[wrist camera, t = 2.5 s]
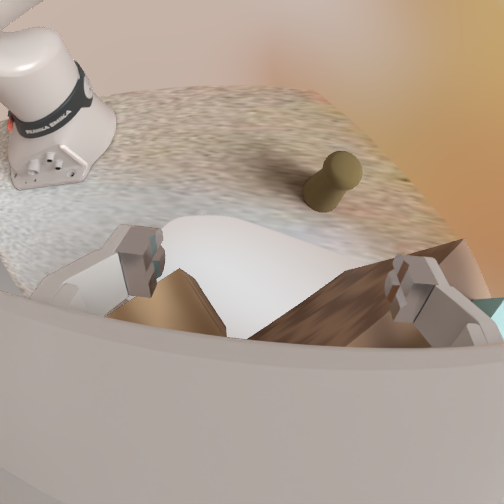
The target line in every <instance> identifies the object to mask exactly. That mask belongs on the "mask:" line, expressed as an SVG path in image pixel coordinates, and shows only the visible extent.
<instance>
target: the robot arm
mask: <svg viewBox="0 0 504 504" xmlns="http://www.w3.org/2000/svg"><path fill="white" fill-rule="evenodd" d="M42 1H43V0H0V102H1V103H2V104H3V105H4V106H6V107H7V108H8V109H9V111H8V116H9V120H8V128H7V130H9V128H10V133H9V138H8V146H7V154H8V160H9V163H10V171H11V178H12V182H13V184H14V186H15V188H16V189H18V190H25V189H32V188H38V187H46V186H53V185H61V184H69V183H78V182H81V181H83V180H84V179H85V177H86V176H87V174H88V172H89V170H90V168H91V166H92V165H93V163H94V162H95V161H96V160H97V159H98V158H99V157H100V156H101V155H102V154H103V153H104V152H105V150H106V149H107V148H108V146H109V145H110V143H111V141H112V139H113V137H114V134H115V130H116V116H115V113H114V111H113V110H112V108H111V107H110V106H109V105H107V104H106V103H104V102H103V101H102V100H101V99H100V98H99V97H98V96H97V95H96V94H95V93H94V92H93V90H92V86H91V84H90V81H89V79H88V78H87V76H86V75H85V73H84V71H83V70H82V68H81V67H80V65H79V64H78V63H77V62H76V61H74V60H73V58H72V56H71V54H70V52H69V51H68V49H67V47H66V45H65V43H64V41H63V39H62V38H61V36H60V34H58V33H57V32H56V31H54V30H52V29H49V28H45V27H32V28H28V29H24V30H21V31H16V32H2V31H1V30H3V29H4V28H5V27H6V26H8V25H9V24H10V23H11V22H13V21H14V20H16V19H17V18H18V17H20V16H21V15H23V14H24V13H25V12H27V11H28V10H30V9H31V8H33V7H34V6H35V5H37V4H39V3H40V2H42ZM72 174H74V176H72ZM162 241H163V235H162V230H161V229H160V228H152V227H144V226H133V225H124V224H122V225H119V226H118V227H117V229H116V230H115V231H114V233H113V234H112V235H111V237H110V238H109V239H108V241H107V242H106V243H105V245H104V246H103V247H102V249H101V250H96V251H94V252H92V253H90V254H88V255H86V256H84V257H82V258H80V259H78V260H76V261H74V262H72V263H70V264H69V265H67V266H65V267H63V268H61V269H59V270H57V271H55V272H54V273H52V274H50V275H48V276H46V277H45V278H43V280H42V281H41V283H40V284H39V285H38V287H37V288H36V289H35V291H34V292H33V294H32V295H31V296H30V298H29V299H28V298H25V297H21V296H18V295H14V294H11V293H8V292H4V291H1V290H0V504H504V339H503V337H502V335H501V333H500V331H499V329H498V327H497V325H496V323H495V322H494V321H493V320H492V319H491V318H490V317H489V316H488V315H486V314H485V313H484V312H483V311H482V310H481V309H479V308H478V307H477V306H476V305H475V304H474V303H472V302H471V301H470V300H469V299H468V298H466V297H465V296H464V295H463V294H461V293H460V292H459V291H458V290H457V289H455V288H454V287H451V286H450V285H449V284H448V282H447V280H446V278H445V276H444V274H443V272H442V270H441V269H440V267H439V265H438V263H437V261H436V260H435V259H434V258H433V257H422V256H421V257H419V256H410V255H400V254H397V255H396V257H395V258H394V260H393V263H392V264H393V267H394V269H393V270H392V271H390V272H389V273H388V275H387V278H386V280H385V287H384V289H385V296H386V299H387V300H388V301H389V302H391V305H390V307H389V309H390V312H391V315H392V319H393V322H405V323H414V325H415V327H416V328H417V329H418V330H419V331H420V333H421V334H422V335H423V336H424V337H425V339H426V340H427V341H428V342H429V344H430V345H431V346H432V347H433V348H363V347H338V346H319V345H304V344H290V343H278V342H267V341H257V340H247V339H238V338H230V337H221V336H214V335H206V334H199V333H192V332H185V331H179V330H172V329H166V328H160V327H154V326H149V325H143V324H138V323H132V322H127V321H122V320H117V319H112V318H107V317H103V316H105V315H106V314H107V313H108V312H110V311H111V310H112V309H113V308H115V307H116V306H117V305H118V304H120V303H121V302H122V301H123V300H125V299H126V298H127V297H128V295H131V296H139V297H147V298H151V297H152V295H153V293H154V290H155V288H156V286H157V281H156V279H157V278H158V277H160V276H161V275H162V272H163V270H164V264H165V250H164V249H163V248H162V246H161V245H160V244H161V243H162Z"/></svg>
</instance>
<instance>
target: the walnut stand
mask: <svg viewBox="0 0 504 504" xmlns="http://www.w3.org/2000/svg"><path fill="white" fill-rule="evenodd" d="M408 255H410V256H419V257H421V256H422V257H433V258H434V259H435V260H436V261H437V263H438V265H439V267H440V269H441V270H442V272H443V274H444V276H445V278H446V280H447V282H448V284H449V285H450V286H451V287H454V288H455V289H457V290H458V291H459V292H460V293H461V294H463V295H464V296H465V297H466V298H468V299H469V300H470V301H471V302H472V301H473V300H474V299H488V298H492V297H491V295H490V292H489V290H488V287H487V285H486V283H485V281H484V278H483V276H482V274H481V271H480V269H479V267H478V265H477V263H476V260H475V258H474V256H473V254H472V252H471V250H470V248H469V246H468V244H467V242H466V240H465V238H464V239H460V240H457V241H453V242H450V243H447V244H443V245H440V246H436V247H433V248H429V249H426V250H422V251H418V252H415V253H411V254H408ZM393 260H394V258H393V259H389V260H385V261H382V262H378V263H374V264H370V265H366V266H362V267H359V268H355V269H351V270H347V271H344V272H343V273H342V274H340V275H339V276H338V277H336V278H335V279H334V280H332V281H331V282H329V283H328V284H327V285H325V286H324V287H323V288H321V289H320V290H318V291H317V292H316V293H314V294H313V295H311V296H310V297H308V298H307V299H306V300H304V301H303V302H302V303H300V304H298V305H297V306H296V307H294V308H293V309H291V310H290V311H288V312H287V313H286V314H284V315H283V316H281V317H280V318H278V319H277V320H275V321H274V322H272V323H271V324H269V325H268V326H266V327H265V328H263V329H262V330H260V331H259V332H257V333H256V334H254V335H253V336H251V337H250V338H248V339H247V340H257V341H267V342H278V343H290V344H304V345H319V346H338V347H363V348H430V347H431V345H430V344H429V342H428V341H427V340H426V339H425V337H424V336H423V335H422V334H421V333H420V331H419V330H418V329H417V328H416V327H415V325H414V323H405V322H393V319H392V315H391V312H390V309H389V307H390V305H391V302H389V301H388V300H387V299H386V296H385V289H384V287H385V280H386V278H387V275H388V273H389V272H390V271H392V270H393V269H394V267H393V264H392V263H393Z"/></svg>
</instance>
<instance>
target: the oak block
mask: <svg viewBox="0 0 504 504" xmlns="http://www.w3.org/2000/svg"><path fill="white" fill-rule="evenodd" d="M106 317H107V318H112V319H117V320H122V321H127V322H132V323H138V324H143V325H149V326H154V327H160V328H166V329H172V330H179V331H185V332H192V333H199V334H206V335H214V336H221V337H227V336H226V326H225V325H224V323H223V322H222V320H221V319H220V317H219V316H218V314H217V313H216V311H215V310H214V308H213V306H212V305H211V303H210V302H209V300H208V299H207V297H206V296H205V294H204V293H203V291H202V289H201V288H200V287H199V285H198V283H197V282H196V280H195V279H194V278H193V277H192V276H190V275H188V274H187V273H186V272H184V271H183V270H181V269H180V268H179V269H178V270H176V271H174V272H173V273H171V274H170V275H168V276H167V277H165V278H164V279H162V280H161V281H159V282H157V286H156V288H155V290H154V293H153V295H152V297H151V298H147V297H139V296H136V297H134V298H133V299H131V300H130V301H128V302H127V303H125V304H124V305H122V306H121V307H119V308H118V309H116V310H115V311H113V312H112V313H110V314H109V315H107V316H106Z"/></svg>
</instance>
